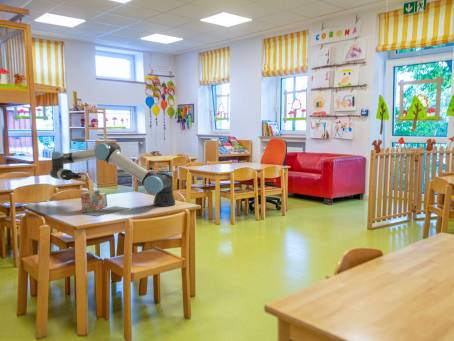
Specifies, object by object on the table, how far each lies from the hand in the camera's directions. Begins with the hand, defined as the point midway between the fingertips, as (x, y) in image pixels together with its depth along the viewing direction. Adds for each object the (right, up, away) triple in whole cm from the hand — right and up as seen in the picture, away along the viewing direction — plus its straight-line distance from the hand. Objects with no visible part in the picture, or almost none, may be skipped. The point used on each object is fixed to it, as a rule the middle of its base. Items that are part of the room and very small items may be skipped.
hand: (84, 177), depth 275 cm
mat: (+17, -22, -9) cm, 29 cm away
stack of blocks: (+8, -21, -4) cm, 23 cm away
